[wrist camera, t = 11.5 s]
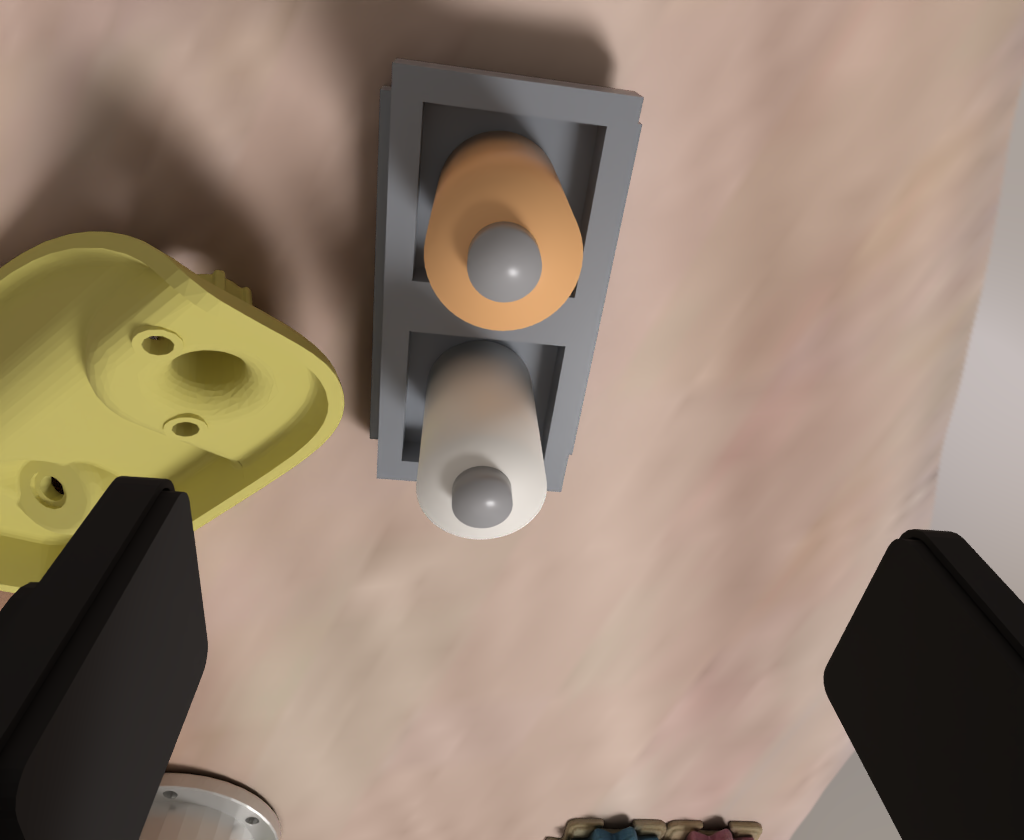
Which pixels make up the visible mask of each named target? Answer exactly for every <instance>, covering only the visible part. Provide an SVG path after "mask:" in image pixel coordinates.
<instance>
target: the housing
mask: <svg viewBox="0 0 1024 840" xmlns="http://www.w3.org/2000/svg"><path fill="white" fill-rule="evenodd" d="M643 98H644V97H642V96H641V95H639V94H638V93H636V92H635V91H629V90H622V89H615V88H608V87H600V86H593V85H586V84H579V83H572V82H565V81H558V80H550V79H543V78H536V77H529V76H522V75H515V74H508V73H500V72H493V71H486V70H479V69H472V68H465V67H458V66H450V65H443V64H436V63H429V62H422V61H415V60H408V59H400V58H396V59H395V60H394V61H393V62H392V85H391V86H382V88H381V89H380V112H379V146H378V179H377V213H376V246H375V280H374V313H373V347H372V380H371V414H370V439H378V459H377V478H379V479H392V480H406V481H417V474H418V465H419V456H420V446H421V437H422V428H423V418H424V409H425V400H426V391H427V382H428V376H429V373H430V371H431V368H432V366H433V365H434V363H435V362H436V360H437V359H438V358H439V357H440V356H441V355H442V354H443V353H445V352H446V351H447V350H449V349H450V348H452V347H454V346H456V345H459V344H462V343H465V342H470V341H489V342H494V343H498V344H500V345H503V346H505V347H507V348H509V349H510V350H512V351H513V352H515V353H516V354H517V355H518V356H519V357H520V358H521V359H522V360H523V362H524V363H525V365H526V366H527V368H528V371H529V373H530V377H531V382H532V388H533V395H534V401H535V408H536V414H537V421H538V428H539V434H540V441H541V447H542V454H543V460H544V467H545V474H546V480H547V491H555V492H561V490H562V485H563V480H564V475H565V471H566V466H567V461H568V456H569V455H572V452H573V448H574V443H575V438H576V433H577V429H578V424H579V419H580V415H581V410H582V405H583V401H584V396H585V391H586V386H587V382H588V377H589V372H590V368H591V363H592V358H593V353H594V349H595V344H596V339H597V335H598V330H599V325H600V320H601V316H602V311H603V306H604V302H605V297H606V292H607V287H608V283H609V278H610V273H611V269H612V264H613V259H614V255H615V250H616V245H617V240H618V236H619V231H620V226H621V222H622V217H623V212H624V207H625V203H626V198H627V193H628V189H629V184H630V179H631V174H632V170H633V165H634V160H635V156H636V151H637V146H638V142H639V137H640V132H641V127H642V124H641V123H640V122H639V118H640V113H641V108H642V103H643ZM488 131H508V132H513V133H516V134H519V135H522V136H524V137H526V138H528V139H530V140H531V141H532V142H534V143H535V144H537V145H538V146H539V147H540V148H541V149H542V150H543V151H544V153H545V154H546V155H547V156H548V158H549V159H550V161H551V163H552V165H553V167H554V169H555V172H556V174H557V176H558V179H559V181H560V184H561V186H562V188H563V191H564V193H565V196H566V198H567V200H568V203H569V205H570V207H571V210H572V212H573V215H574V217H575V219H576V222H577V224H578V227H579V230H580V233H581V237H582V244H583V261H582V268H581V272H580V276H579V279H578V281H577V283H576V286H575V288H574V290H573V291H572V293H571V295H570V296H569V297H568V299H567V300H566V301H565V303H564V304H563V305H562V306H561V307H560V308H559V309H558V310H557V311H556V312H554V313H553V314H552V315H551V316H549V317H548V318H546V319H544V320H543V321H541V322H539V323H537V324H534V325H532V326H529V327H526V328H523V329H517V330H509V331H497V330H489V329H484V328H480V327H477V326H474V325H472V324H470V323H467V322H465V321H464V320H462V319H460V318H459V317H457V316H456V315H454V314H453V313H452V312H451V311H449V310H448V309H447V308H446V307H445V305H444V304H443V303H442V302H441V301H440V299H439V298H438V297H437V295H436V294H435V292H434V290H433V289H432V287H431V284H430V282H429V279H428V277H427V273H426V269H425V262H424V245H425V238H426V233H427V229H428V224H429V220H430V216H431V211H432V207H433V203H434V198H435V194H436V189H437V185H438V181H439V177H440V173H441V170H442V168H443V166H444V164H445V162H446V160H447V159H448V157H449V156H450V154H451V153H452V152H453V151H454V150H455V149H456V148H457V147H458V146H459V145H460V144H461V143H463V142H464V141H465V140H467V139H469V138H471V137H473V136H474V135H477V134H480V133H483V132H488Z"/></svg>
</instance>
